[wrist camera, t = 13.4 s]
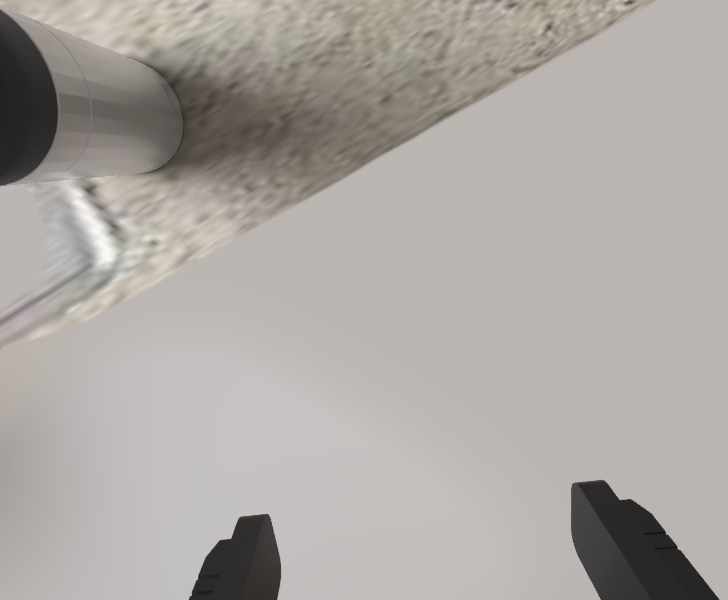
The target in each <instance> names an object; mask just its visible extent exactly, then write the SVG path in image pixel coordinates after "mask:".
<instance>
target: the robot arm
mask: <svg viewBox="0 0 728 600" xmlns="http://www.w3.org/2000/svg"><path fill="white" fill-rule="evenodd" d="M182 135H183V116H182V110H181V107H180V104H179V101H178V98H177V96H176V95H175V93H174V91H173V89H172V87H171V86H170V85H169V84H168V83H167V81H166V80H165V79H164V78H163V77H162V76H161V75H160V74H159V73H157V72H156V71H155V70H154V69H152V68H150V67H148V66H147V65H145V64H143V63H140V62H138V61H135V60H133V59H130V58H128V57H126V56H123V55H121V54H119V53H116V52H114V51H111V50H109V49H106V48H104V47H101V46H99V45H96V44H94V43H91V42H89V41H86V40H84V39H81V38H79V37H76V36H74V35H71V34H69V33H66V32H64V31H61V30H59V29H56V28H54V27H51V26H49V25H46V24H44V23H41V22H39V21H36V20H34V19H31V18H29V17H26V16H24V15H21V14H19V13H16V12H13V11H10V10H8V9H5V8H3V7H1V6H0V186H6V185H17V184H28V183H38V182H47V181H58V180H70V179H81V178H92V177H103V176H114V175H127V174H138V173H146V172H151V171H153V170H156V169H159V168H160V167H162V166H163V165H165V164H166V163H167V162H168V161H169V160H170V159H171V158H172V157H173V156H174V155H175V153H176V151H177V149H178V147H179V145H180V142H181V139H182ZM571 532H572V539H573V543H574V546H575V549H576V552H577V554H578V557H579V559H580V561H581V562H582V564H583V566H584V568H585V570H586V572H587V574H588V576H589V578H590V580H591V582H592V583H593V585H594V587H595V589H596V591H597V593H598V595H599V597H600V599H601V600H719V599H718V597H717V596H716V595H715V594H714V592H713V591H712V590H711V589H710V587H709V586H708V585H707V583H706V582H705V581H704V580H703V578H702V577H701V576H700V574H699V573H698V572H697V571H696V569H695V568H694V567H693V566H692V564H691V563H690V562H689V561H688V559H687V558H686V557H685V556H684V554H683V553H682V552H681V550H678V548H677V545H676V544H675V543H674V542H673V540H672V539H671V538H670V537H669V535H666V532H665V530H664V529H663V528H662V526H661V525H660V524H659V523H658V521H657V520H656V519H655V518H654V516H653V515H652V514H651V513H650V512H648V511H647V510H646V509H644V508H643V507H641V506H640V505H638V504H637V503H636V502H634V501H633V500H631V499H628V500H619V499H618V497H617V496H616V495H615V493H614V492H613V491H612V489H611V488H610V486H609V485H608V484H607V483H606V482H605V481H603V480H597V481H587V482H578V483H573V484H572V488H571ZM280 580H281V562H280V557H279V552H278V548H277V543H276V539H275V535H274V531H273V526H272V522H271V518H270V516H269V515H268V514H263V515H253V516H243V517H240V518H239V519H238V522H237V524H236V527H235V530H234V532H233V535H232V538H231V539H227V540H220V541H219V542H218V543H217V544H216V546H215V547H214V548H213V549H212V550H211V552H210V553H209V554H208V555H207V557H206V558H205V561H204V563H203V566H202V568H201V571H200V573H199V576H198V580H197V581H196V583H195V586H194V588H193V591H192V596H190V598H189V600H277V597H278V592H279V587H280Z"/></svg>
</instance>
